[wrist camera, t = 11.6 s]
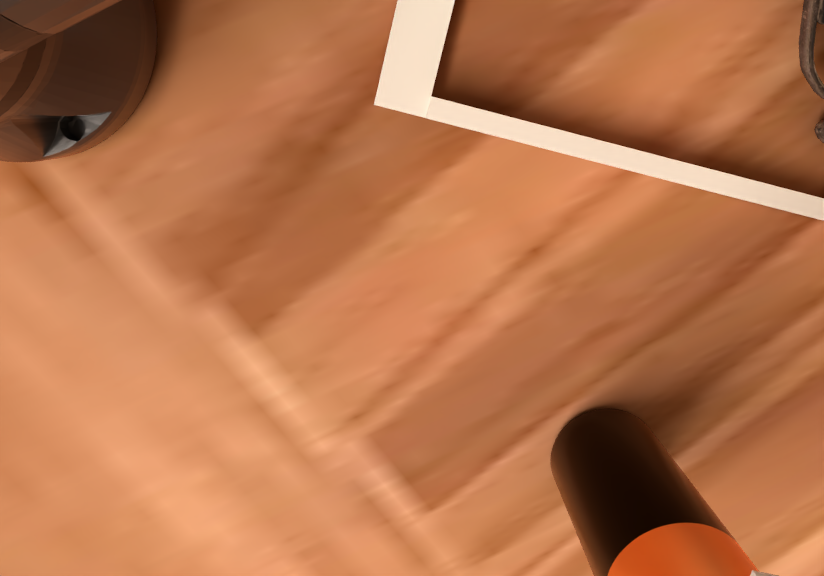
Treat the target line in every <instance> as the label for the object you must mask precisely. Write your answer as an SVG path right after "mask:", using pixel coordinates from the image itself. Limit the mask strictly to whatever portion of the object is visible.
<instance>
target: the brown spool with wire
mask: <svg viewBox="0 0 824 576" xmlns="http://www.w3.org/2000/svg"><path fill="white" fill-rule="evenodd" d="M817 22H818V23H819V24H824V0H804V4H803V12H802V19H801V27H800V36H799V58H800V66H801V70H802V72H803V74H804V76H805V78H806V80H807V81H808V83H809V84H810V86H811V88H812V89H813V91H814V92H815V93H817V94H818V95H819V96H820V97H821V98H823V99H824V84H823V83H822V81H821V80H820V78H819V76H818V74H817V72H816V69H815V63H814V43H815V33H816V25H817ZM815 133H816V136H817V138H818V139H820V140H821V141H822V142H823V143H824V120H822V121H820V122H819V123H818V124H816V127H815Z"/></svg>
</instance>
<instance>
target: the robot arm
mask: <svg viewBox="0 0 824 576" xmlns="http://www.w3.org/2000/svg"><path fill="white" fill-rule="evenodd" d="M156 46H157V24H156V14H155V8H154V3H153V0H0V161H7V162H35V161H43V160H49V159H56V158H61V157H66V156H70V155H74V154H77V153H80V152H83V151H85V150H87V149H89V148H92V147H93V146H95V145H97V144H99V143H101V142H102V141H104V140H105V139H107V138H108V137H109V136H111V135H112V134H113V133H114V132H116V131H117V130H118V129H119V128H120V127H121V126H122V125H123V124H124V123H125V122H126V121H127V119H128V118H129V117H130V116H131V114H132V113H133V112H134V110H135V109H136V107H137V106H138V104H139V102H140V101H141V99H142V97H143V95H144V93H145V91H146V88H147V86H148V83H149V80H150V77H151V74H152V70H153V67H154V61H155V56H156ZM750 576H778V575H773V574H768V573H763V572H759V571H754V570H752V572H751V574H750Z"/></svg>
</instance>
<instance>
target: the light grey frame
mask: <svg viewBox="0 0 824 576" xmlns="http://www.w3.org/2000/svg"><path fill="white" fill-rule="evenodd" d="M454 2H455V0H398V1H397V6H396V10H395V14H394V19H393V23H392V28H391V32H390V36H389V41H388V45H387V50H386V54H385V58H384V63H383V67H382V72H381V76H380V80H379V85H378V89H377V94H376V98H375V103H374V105H377V106H381V107H385V108H389V109H393V110H397V111H401V112H405V113H408V114H412V115H416V116H420V117H424V118H427V119H431V120H435V121H439V122H443V123H447V124H450V125H454V126H458V127H462V128H466V129H470V130H474V131H478V132H481V133H485V134H489V135H493V136H497V137H501V138H505V139H509V140H513V141H516V142H520V143H524V144H528V145H532V146H536V147H540V148H544V149H547V150H551V151H555V152H559V153H563V154H567V155H571V156H575V157H579V158H582V159H586V160H590V161H594V162H598V163H602V164H606V165H610V166H614V167H617V168H621V169H625V170H629V171H633V172H637V173H641V174H645V175H648V176H652V177H656V178H660V179H664V180H668V181H672V182H676V183H680V184H683V185H687V186H691V187H695V188H699V189H703V190H707V191H711V192H714V193H718V194H722V195H726V196H730V197H734V198H738V199H742V200H746V201H749V202H753V203H757V204H761V205H765V206H769V207H773V208H777V209H780V210H784V211H788V212H792V213H796V214H800V215H804V216H808V217H812V218H815V219H819V220H823V221H824V198H820V197H816V196H812V195H808V194H805V193H801V192H797V191H793V190H789V189H785V188H782V187H778V186H774V185H770V184H766V183H762V182H758V181H755V180H751V179H747V178H743V177H739V176H735V175H732V174H728V173H724V172H720V171H716V170H712V169H709V168H705V167H701V166H697V165H693V164H689V163H685V162H682V161H678V160H674V159H670V158H666V157H662V156H659V155H655V154H651V153H647V152H643V151H639V150H636V149H632V148H628V147H624V146H620V145H616V144H613V143H609V142H605V141H601V140H597V139H593V138H589V137H586V136H582V135H578V134H574V133H570V132H566V131H563V130H559V129H555V128H551V127H547V126H543V125H540V124H536V123H532V122H528V121H524V120H520V119H517V118H513V117H509V116H505V115H501V114H497V113H493V112H490V111H486V110H482V109H478V108H474V107H470V106H467V105H463V104H459V103H455V102H451V101H447V100H444V99H440V98H436V97H432V96H431V95H432V91H433V87H434V83H435V79H436V75H437V71H438V67H439V63H440V59H441V54H442V50H443V46H444V42H445V38H446V34H447V30H448V26H449V22H450V18H451V14H452V10H453V6H454Z"/></svg>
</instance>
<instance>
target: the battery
mask: <svg viewBox="0 0 824 576" xmlns="http://www.w3.org/2000/svg"><path fill="white" fill-rule="evenodd" d="M551 469H552V473H553V476H554V479H555V481H556V484H557V486H558V489H559V491H560V494H561V496H562V499H563V501H564V503H565V506H566V508H567V511H568V513H569V516H570V518H571V521H572V523H573V525H574V528H575V530H576V533H577V535H578V538H579V540H580V542H581V545H582V547H583V550H584V552H585V555H586V557H587V559H588V562H589V564H590V567H591V569H592V572H593V574H594V576H750V574H751V572H752V570H754V571H759V570H758V569H757V568H756V567H755V565H754V564H753V563H752V561H751V560H750V559H749V557H748V556H747V555H746V554H745V552H744V551H743V550H742V548H741V547H740V546H739V544H738V543H737V542H736V540H735V539H734V538H733V537H732V535H731V534H730V533H729V531H728V530H727V529H726V527H725V526H724V525H723V524H722V522H721V521H720V520H719V518H718V517H717V516H716V514H715V513H714V512H713V510H712V509H711V508H710V507H709V505H708V504H707V503H706V501H705V500H704V499H703V497H702V496H701V495H700V494H699V492H698V491H697V490H696V488H695V487H694V486H693V484H692V483H691V482H690V481H689V479H688V478H687V477H686V475H685V474H684V473H683V471H682V470H681V469H680V467H679V466H678V465H677V464H676V462H675V461H674V460H673V458H672V457H671V456H670V454H669V453H668V452H667V451H666V449H665V448H664V447H663V445H662V444H661V443H660V441H659V440H658V439H657V438H656V436H655V435H654V434H653V432H652V431H651V430H650V429H649V427H648V426H647V425H646V424H645V423H644V422H643V421H642V420H641V419H639V418H638V417H636V416H635V415H633V414H631V413H628V412H626V411H622V410H617V409H599V410H594V411H590V412H587V413H585V414H583V415H580V416H579V417H577V418H575V419H574V420H572V421H571V422H570V423H569V424H567V425H566V426H565V427H564V429H563V430H562V431H561V432H560V434H559V435H558V437H557V438H556V440H555V443H554V445H553V448H552V452H551Z"/></svg>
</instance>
